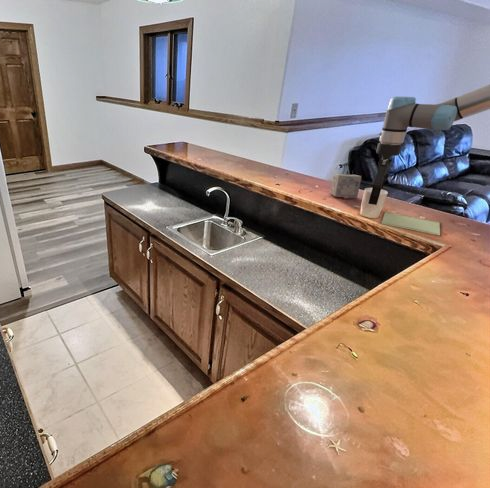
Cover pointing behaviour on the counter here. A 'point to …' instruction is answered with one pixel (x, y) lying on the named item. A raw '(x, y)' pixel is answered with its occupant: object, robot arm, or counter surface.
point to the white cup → (371, 209)
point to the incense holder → (345, 185)
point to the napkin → (411, 223)
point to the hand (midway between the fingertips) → (374, 199)
